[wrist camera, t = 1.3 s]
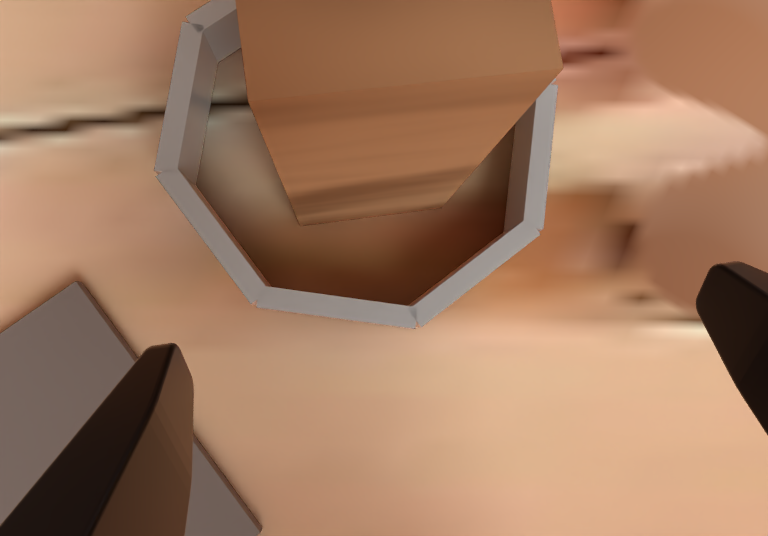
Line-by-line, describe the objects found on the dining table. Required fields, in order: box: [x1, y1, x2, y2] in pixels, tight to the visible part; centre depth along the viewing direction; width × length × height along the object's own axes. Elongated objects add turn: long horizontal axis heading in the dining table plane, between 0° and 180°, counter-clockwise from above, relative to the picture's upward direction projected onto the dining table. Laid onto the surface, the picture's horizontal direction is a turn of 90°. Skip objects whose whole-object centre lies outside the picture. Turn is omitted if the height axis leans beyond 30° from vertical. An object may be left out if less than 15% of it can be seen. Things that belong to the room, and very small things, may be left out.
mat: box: [0, 281, 262, 536], centre depth 20 cm, size 12×10×1 cm
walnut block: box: [235, 0, 563, 226], centre depth 16 cm, size 6×6×12 cm
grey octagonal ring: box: [154, 0, 558, 329], centre depth 21 cm, size 15×15×2 cm
